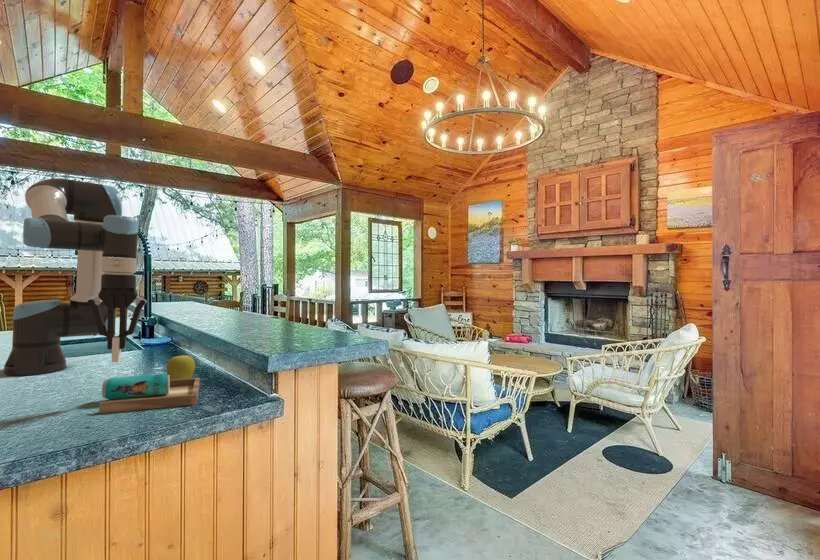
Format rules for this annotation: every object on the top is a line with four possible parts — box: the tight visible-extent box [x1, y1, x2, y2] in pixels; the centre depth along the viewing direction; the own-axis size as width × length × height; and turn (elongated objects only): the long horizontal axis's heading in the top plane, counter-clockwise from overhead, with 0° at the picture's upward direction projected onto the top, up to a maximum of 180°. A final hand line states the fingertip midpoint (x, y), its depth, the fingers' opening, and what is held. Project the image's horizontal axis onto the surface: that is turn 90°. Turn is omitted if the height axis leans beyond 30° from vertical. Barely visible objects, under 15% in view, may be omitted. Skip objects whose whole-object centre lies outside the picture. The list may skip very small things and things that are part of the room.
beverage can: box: [101, 373, 170, 400], centre depth 108 cm, size 6×6×15 cm
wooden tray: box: [98, 377, 201, 414], centre depth 110 cm, size 18×21×2 cm
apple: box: [166, 351, 196, 380], centre depth 127 cm, size 8×8×10 cm
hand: (116, 360), depth 106 cm, fingers closed
